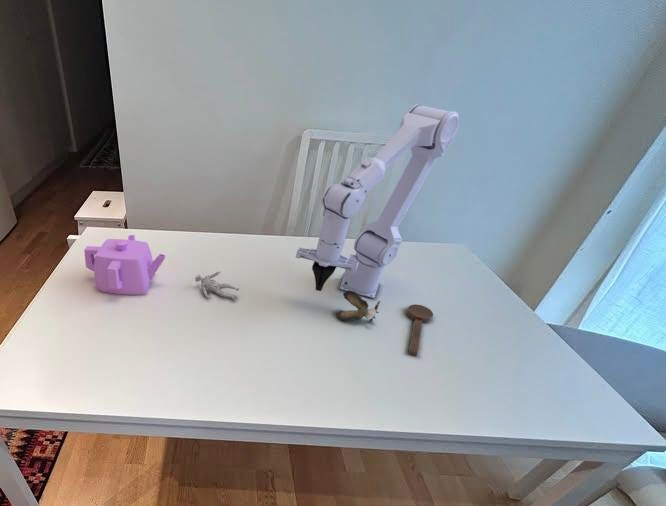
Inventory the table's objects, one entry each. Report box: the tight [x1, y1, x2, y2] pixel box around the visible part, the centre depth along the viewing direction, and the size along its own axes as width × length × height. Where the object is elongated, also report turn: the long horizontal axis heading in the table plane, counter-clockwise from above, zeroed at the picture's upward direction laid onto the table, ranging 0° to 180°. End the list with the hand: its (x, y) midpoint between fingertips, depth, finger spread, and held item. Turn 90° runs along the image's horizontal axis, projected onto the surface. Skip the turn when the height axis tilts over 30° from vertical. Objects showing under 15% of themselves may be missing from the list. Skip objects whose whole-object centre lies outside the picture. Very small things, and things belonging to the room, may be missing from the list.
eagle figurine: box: [335, 290, 381, 323], centre depth 96 cm, size 8×7×9 cm
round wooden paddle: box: [405, 303, 434, 357], centre depth 95 cm, size 20×6×1 cm, turn 153°
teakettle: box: [83, 234, 167, 296], centre depth 104 cm, size 17×17×12 cm
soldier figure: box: [194, 271, 240, 300], centre depth 104 cm, size 8×5×12 cm
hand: (318, 288), depth 98 cm, fingers closed
